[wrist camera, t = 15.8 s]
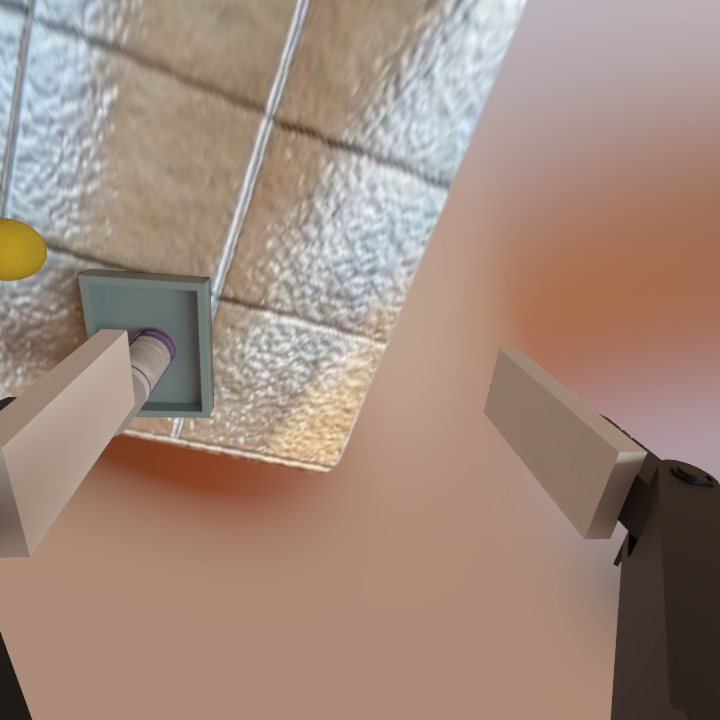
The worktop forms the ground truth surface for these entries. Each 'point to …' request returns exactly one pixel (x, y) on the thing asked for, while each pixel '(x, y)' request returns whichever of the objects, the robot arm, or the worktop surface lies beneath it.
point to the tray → (164, 311)
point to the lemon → (19, 250)
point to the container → (147, 365)
